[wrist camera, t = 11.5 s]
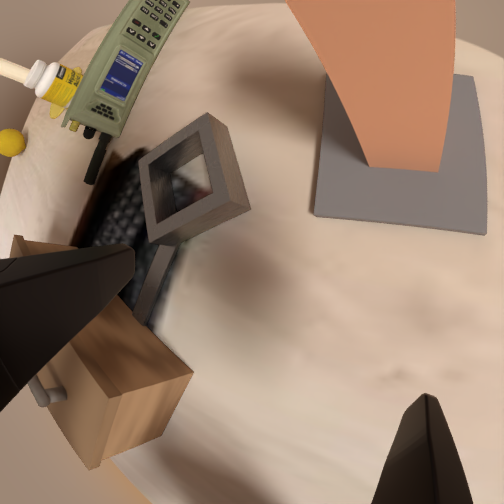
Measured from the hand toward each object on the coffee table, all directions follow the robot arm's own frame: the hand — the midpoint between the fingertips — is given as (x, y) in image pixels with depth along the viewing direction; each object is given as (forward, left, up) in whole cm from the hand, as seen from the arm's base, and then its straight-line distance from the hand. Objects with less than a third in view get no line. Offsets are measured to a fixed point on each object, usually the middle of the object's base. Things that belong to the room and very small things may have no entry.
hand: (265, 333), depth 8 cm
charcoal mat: (+5, -9, -10) cm, 14 cm away
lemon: (+56, +31, -10) cm, 65 cm away
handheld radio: (+30, +3, -11) cm, 32 cm away
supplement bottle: (+42, +11, -10) cm, 45 cm away
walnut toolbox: (+9, +19, -10) cm, 24 cm away
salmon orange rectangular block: (+5, -9, -10) cm, 14 cm away
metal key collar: (+11, +7, -10) cm, 17 cm away
